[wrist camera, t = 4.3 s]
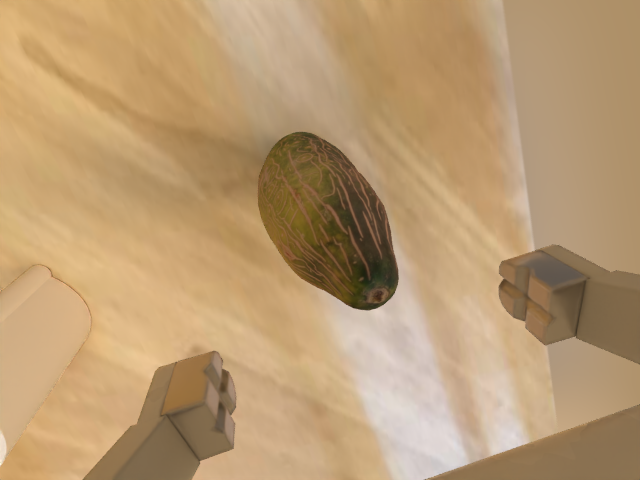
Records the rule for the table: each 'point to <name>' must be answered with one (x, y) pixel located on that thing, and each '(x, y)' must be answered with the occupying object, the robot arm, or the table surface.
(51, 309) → the bracket
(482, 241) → the table surface
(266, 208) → the vegetable
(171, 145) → the table surface
